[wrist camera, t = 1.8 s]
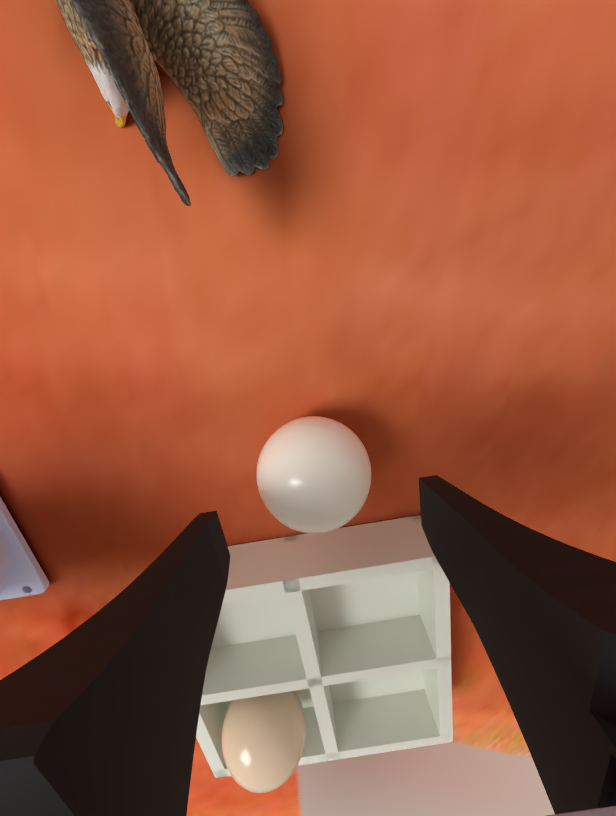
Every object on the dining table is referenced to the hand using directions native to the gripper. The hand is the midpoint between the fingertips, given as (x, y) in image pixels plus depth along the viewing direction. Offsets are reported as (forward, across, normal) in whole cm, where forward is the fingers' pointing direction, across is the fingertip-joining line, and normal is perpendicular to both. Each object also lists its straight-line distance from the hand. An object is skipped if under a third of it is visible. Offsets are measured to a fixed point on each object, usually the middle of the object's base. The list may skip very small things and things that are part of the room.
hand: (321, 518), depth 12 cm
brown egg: (+5, +6, +17) cm, 18 cm away
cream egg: (+6, 0, 0) cm, 6 cm away
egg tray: (+6, +2, +13) cm, 14 cm away
